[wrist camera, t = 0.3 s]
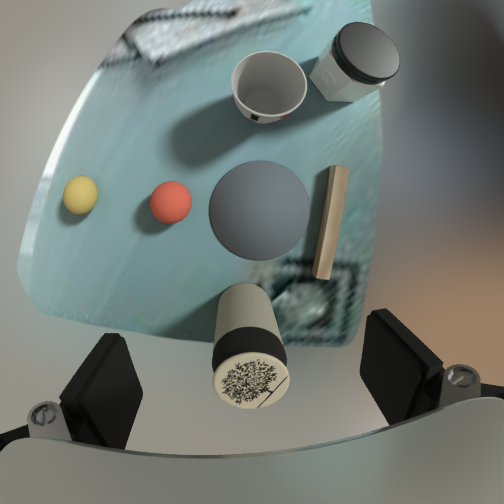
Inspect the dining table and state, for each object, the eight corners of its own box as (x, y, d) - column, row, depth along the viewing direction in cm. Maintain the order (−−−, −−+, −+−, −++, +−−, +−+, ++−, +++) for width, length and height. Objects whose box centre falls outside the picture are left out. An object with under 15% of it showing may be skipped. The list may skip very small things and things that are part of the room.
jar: (298, 67, 34) (320, 30, 22) (337, 47, 33) (369, 12, 22) (334, 114, 36) (371, 93, 24) (372, 92, 35) (414, 69, 24)
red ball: (153, 185, 37) (141, 186, 32) (191, 178, 37) (184, 177, 32) (159, 223, 38) (148, 229, 33) (197, 217, 39) (191, 223, 33)
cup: (238, 137, 36) (239, 122, 27) (226, 84, 34) (224, 56, 25) (295, 127, 36) (314, 111, 27) (282, 76, 34) (297, 47, 25)
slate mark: (205, 253, 40) (204, 253, 40) (216, 154, 37) (216, 154, 36) (300, 264, 41) (300, 265, 41) (316, 169, 38) (316, 169, 38)
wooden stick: (311, 272, 42) (316, 278, 39) (330, 165, 38) (336, 165, 36) (323, 273, 42) (329, 279, 40) (342, 168, 38) (349, 168, 36)
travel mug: (207, 309, 42) (193, 387, 25) (241, 271, 41) (247, 337, 24) (246, 337, 44) (254, 420, 26) (281, 303, 43) (308, 378, 25)
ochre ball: (73, 180, 36) (53, 181, 30) (101, 172, 36) (84, 171, 31) (78, 214, 37) (59, 220, 32) (106, 208, 37) (90, 212, 32)
